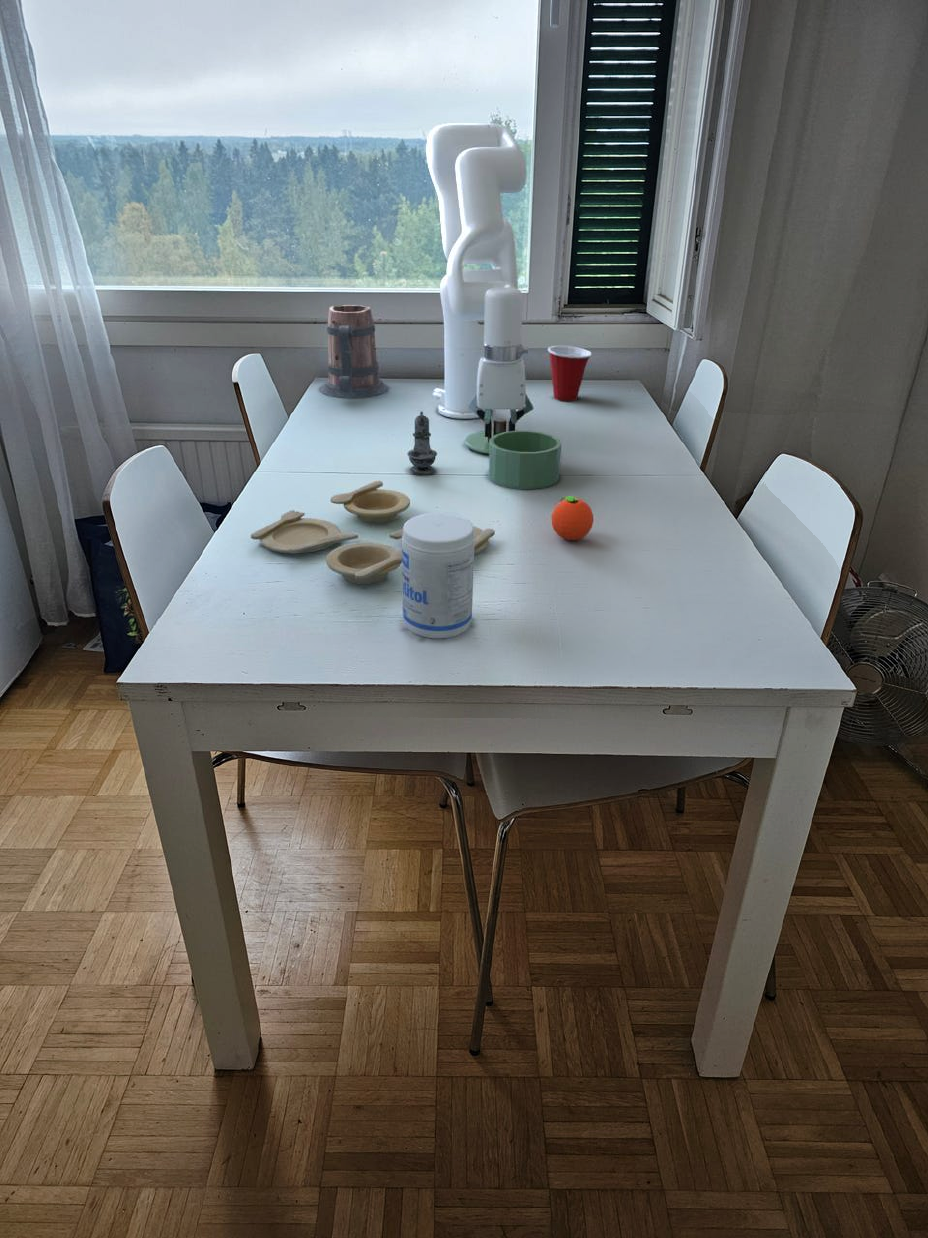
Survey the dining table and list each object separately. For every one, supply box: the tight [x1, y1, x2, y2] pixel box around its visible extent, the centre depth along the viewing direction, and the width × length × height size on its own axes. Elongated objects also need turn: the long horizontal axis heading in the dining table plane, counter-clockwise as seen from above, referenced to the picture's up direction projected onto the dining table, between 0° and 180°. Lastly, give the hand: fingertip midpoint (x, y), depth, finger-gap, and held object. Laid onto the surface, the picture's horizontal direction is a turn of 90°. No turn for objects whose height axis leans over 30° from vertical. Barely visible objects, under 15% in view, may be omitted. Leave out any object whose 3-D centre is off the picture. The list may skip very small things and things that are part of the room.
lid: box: [464, 417, 508, 455], centre depth 185 cm, size 15×15×6 cm
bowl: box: [488, 430, 562, 490], centre depth 168 cm, size 14×14×7 cm
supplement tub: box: [401, 512, 475, 639], centre depth 117 cm, size 10×10×15 cm
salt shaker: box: [406, 410, 438, 476], centre depth 169 cm, size 6×6×12 cm
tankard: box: [320, 304, 388, 399], centre depth 216 cm, size 24×17×20 cm
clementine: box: [550, 495, 594, 541], centre depth 144 cm, size 8×7×7 cm
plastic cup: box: [547, 345, 592, 402], centre depth 216 cm, size 11×11×12 cm
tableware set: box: [250, 480, 496, 585], centre depth 142 cm, size 35×29×4 cm
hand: (499, 439), depth 185 cm, fingers open, 3 cm apart
